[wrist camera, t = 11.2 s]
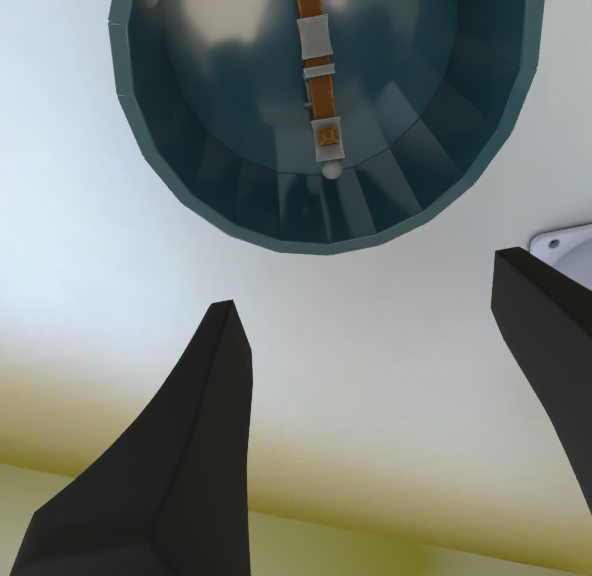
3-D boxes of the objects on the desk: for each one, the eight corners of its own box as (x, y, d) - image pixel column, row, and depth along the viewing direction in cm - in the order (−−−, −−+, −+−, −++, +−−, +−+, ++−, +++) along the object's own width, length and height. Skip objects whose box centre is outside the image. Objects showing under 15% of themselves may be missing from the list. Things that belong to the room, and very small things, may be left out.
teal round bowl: (469, -228, 14) (577, -300, 9) (464, 147, 21) (522, 217, 16) (95, -121, 15) (15, -136, 10) (211, 202, 22) (197, 282, 17)
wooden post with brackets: (305, 179, 20) (307, 184, 15) (271, -40, 18) (261, -108, 13) (349, 172, 19) (363, 175, 15) (320, -50, 17) (326, -121, 13)
